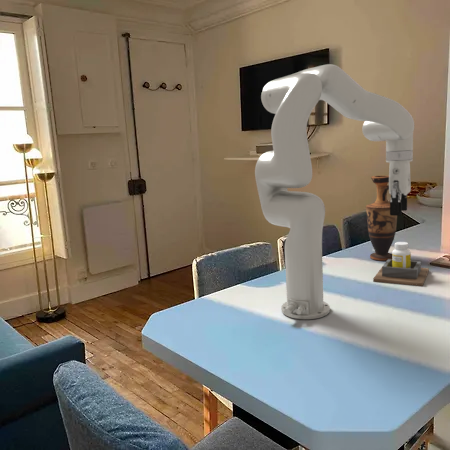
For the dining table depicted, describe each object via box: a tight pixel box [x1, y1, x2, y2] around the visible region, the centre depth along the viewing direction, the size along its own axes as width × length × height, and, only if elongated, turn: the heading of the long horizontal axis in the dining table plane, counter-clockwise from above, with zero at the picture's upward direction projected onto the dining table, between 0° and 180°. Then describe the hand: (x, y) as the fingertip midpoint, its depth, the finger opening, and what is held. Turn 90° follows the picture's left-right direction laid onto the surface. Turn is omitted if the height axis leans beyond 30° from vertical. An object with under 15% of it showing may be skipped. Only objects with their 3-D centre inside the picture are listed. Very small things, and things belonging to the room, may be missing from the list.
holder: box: [372, 259, 430, 287], centre depth 140 cm, size 16×14×4 cm
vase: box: [365, 174, 398, 262], centre depth 160 cm, size 11×11×30 cm
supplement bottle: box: [391, 241, 412, 268], centre depth 139 cm, size 5×5×10 cm
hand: (398, 212), depth 137 cm, fingers open, 9 cm apart
